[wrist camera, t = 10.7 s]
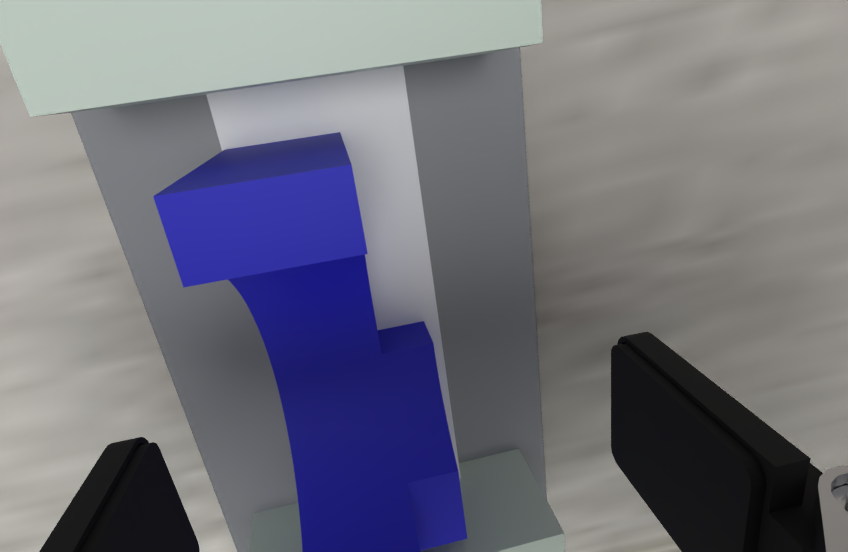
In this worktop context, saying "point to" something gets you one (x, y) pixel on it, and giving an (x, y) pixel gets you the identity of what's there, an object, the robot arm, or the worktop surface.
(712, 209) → the worktop surface
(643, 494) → the robot arm
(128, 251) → the board
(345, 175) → the cable clip
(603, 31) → the worktop surface
